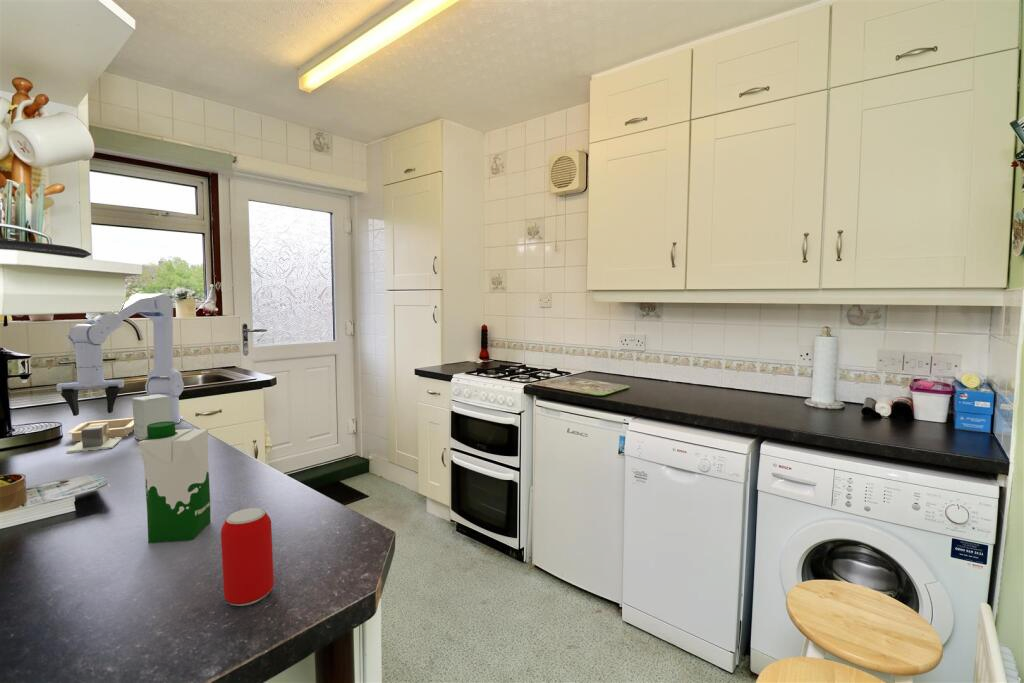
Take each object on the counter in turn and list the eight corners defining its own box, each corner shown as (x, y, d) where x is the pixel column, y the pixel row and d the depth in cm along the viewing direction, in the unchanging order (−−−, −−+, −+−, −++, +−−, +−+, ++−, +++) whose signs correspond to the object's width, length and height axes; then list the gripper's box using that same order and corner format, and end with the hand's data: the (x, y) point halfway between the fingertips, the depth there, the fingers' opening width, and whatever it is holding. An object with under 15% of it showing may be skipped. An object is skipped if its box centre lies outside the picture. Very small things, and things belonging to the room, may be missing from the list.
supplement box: (173, 436, 149) (170, 395, 148) (144, 442, 143) (142, 400, 142) (161, 433, 153) (159, 393, 152) (133, 438, 147) (131, 397, 146)
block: (92, 440, 143) (91, 423, 142) (109, 438, 144) (108, 422, 144) (82, 448, 136) (81, 430, 135) (100, 446, 137) (99, 428, 137)
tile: (79, 443, 142) (79, 441, 142) (122, 439, 146) (122, 437, 146) (66, 453, 133) (66, 451, 133) (112, 448, 137) (112, 446, 137)
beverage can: (214, 603, 67) (209, 519, 66) (254, 580, 73) (250, 502, 72) (245, 615, 65) (240, 528, 64) (283, 589, 70) (280, 509, 69)
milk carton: (166, 523, 91) (159, 418, 89) (218, 519, 93) (213, 416, 91) (138, 546, 83) (131, 431, 81) (197, 542, 84) (190, 428, 82)
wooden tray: (83, 431, 155) (83, 422, 155) (142, 425, 162) (141, 417, 161) (65, 443, 141) (64, 433, 141) (130, 437, 148) (129, 427, 148)
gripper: (50, 369, 131) (54, 419, 132) (117, 366, 137) (121, 414, 138) (60, 366, 137) (64, 414, 138) (124, 363, 143) (127, 409, 145)
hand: (93, 413), depth 139 cm, fingers open, 7 cm apart
